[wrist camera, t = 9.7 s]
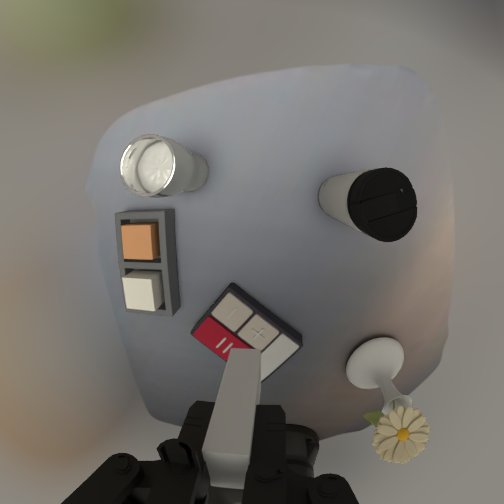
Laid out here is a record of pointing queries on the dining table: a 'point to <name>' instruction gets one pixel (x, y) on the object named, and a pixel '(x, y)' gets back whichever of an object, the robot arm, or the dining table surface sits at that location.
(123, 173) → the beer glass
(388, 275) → the dining table surface
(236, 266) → the dining table surface
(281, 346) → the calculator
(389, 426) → the flower in vase
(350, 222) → the travel mug
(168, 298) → the key housing
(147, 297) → the cream key
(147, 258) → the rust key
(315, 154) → the dining table surface
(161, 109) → the dining table surface
